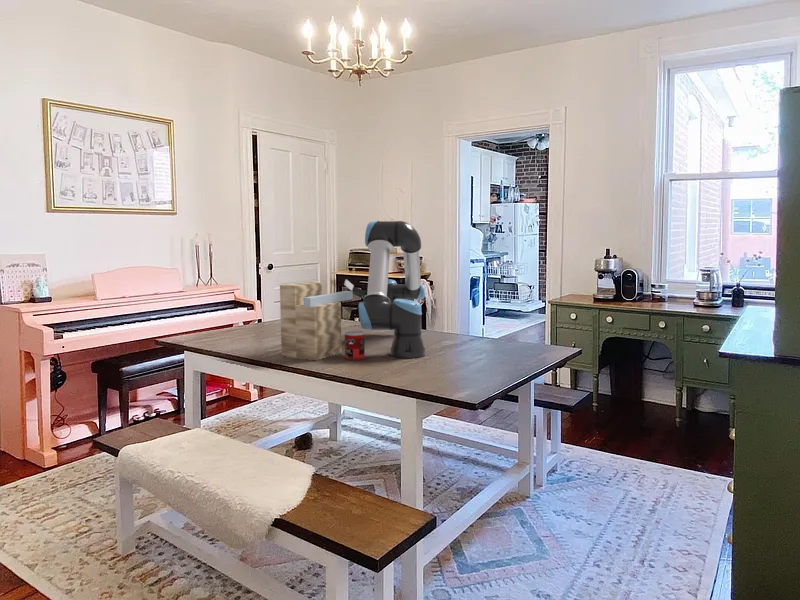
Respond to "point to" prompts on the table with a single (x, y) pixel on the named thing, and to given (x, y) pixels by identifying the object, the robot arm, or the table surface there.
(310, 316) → the stand
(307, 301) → the rail
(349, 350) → the canned food
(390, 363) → the table surface
